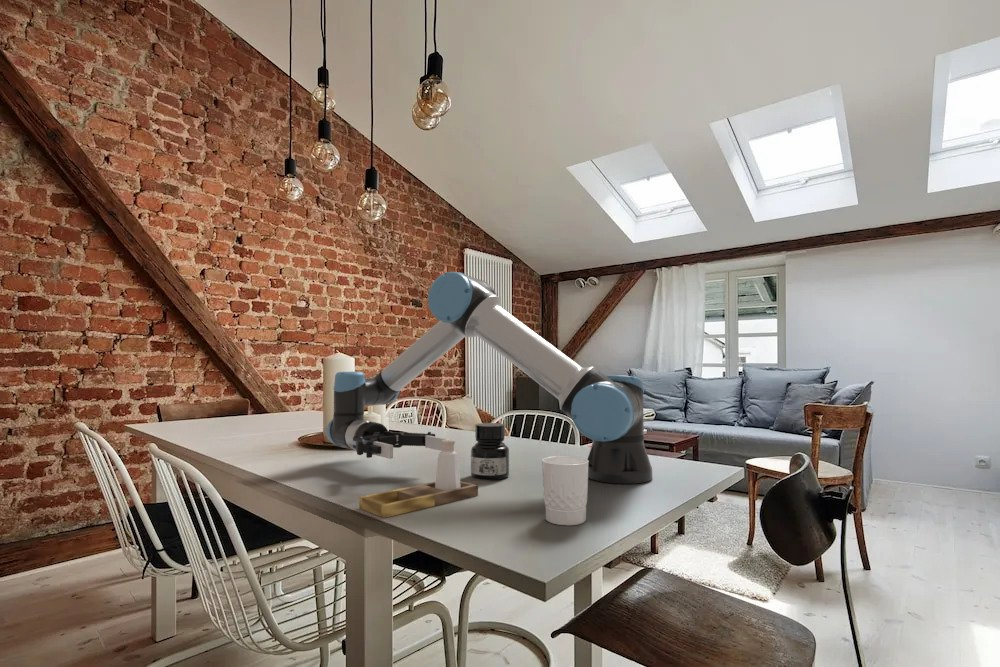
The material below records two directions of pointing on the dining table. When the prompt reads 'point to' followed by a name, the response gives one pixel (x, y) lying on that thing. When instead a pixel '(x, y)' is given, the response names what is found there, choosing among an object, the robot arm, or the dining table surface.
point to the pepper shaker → (447, 467)
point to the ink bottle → (490, 452)
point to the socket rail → (414, 498)
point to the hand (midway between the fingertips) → (419, 448)
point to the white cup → (565, 489)
